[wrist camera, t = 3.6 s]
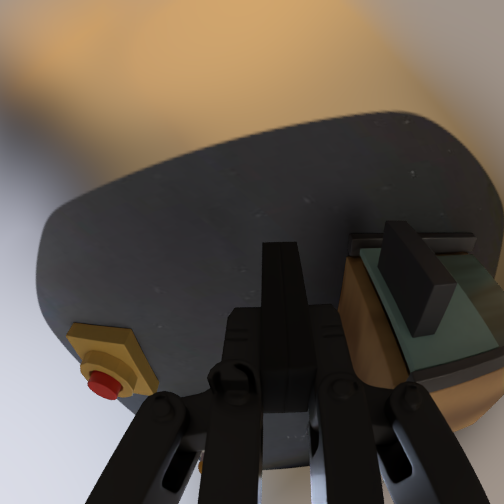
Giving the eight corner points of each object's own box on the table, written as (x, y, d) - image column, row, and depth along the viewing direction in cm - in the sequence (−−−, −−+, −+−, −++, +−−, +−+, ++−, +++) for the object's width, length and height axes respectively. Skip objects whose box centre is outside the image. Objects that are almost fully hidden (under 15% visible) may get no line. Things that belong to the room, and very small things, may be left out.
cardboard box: (349, 233, 19) (415, 382, 9) (472, 232, 18) (556, 331, 8) (330, 344, 25) (349, 462, 15) (433, 331, 24) (473, 425, 14)
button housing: (73, 322, 26) (58, 347, 23) (131, 328, 25) (117, 359, 22) (107, 374, 31) (97, 397, 28) (159, 382, 31) (152, 409, 27)
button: (87, 366, 24) (81, 379, 23) (113, 372, 24) (108, 385, 23) (101, 384, 26) (96, 396, 25) (126, 390, 26) (122, 402, 25)
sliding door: (365, 205, 16) (443, 317, 8) (438, 207, 16) (527, 299, 8) (359, 254, 18) (411, 376, 10) (427, 252, 18) (495, 352, 9)
